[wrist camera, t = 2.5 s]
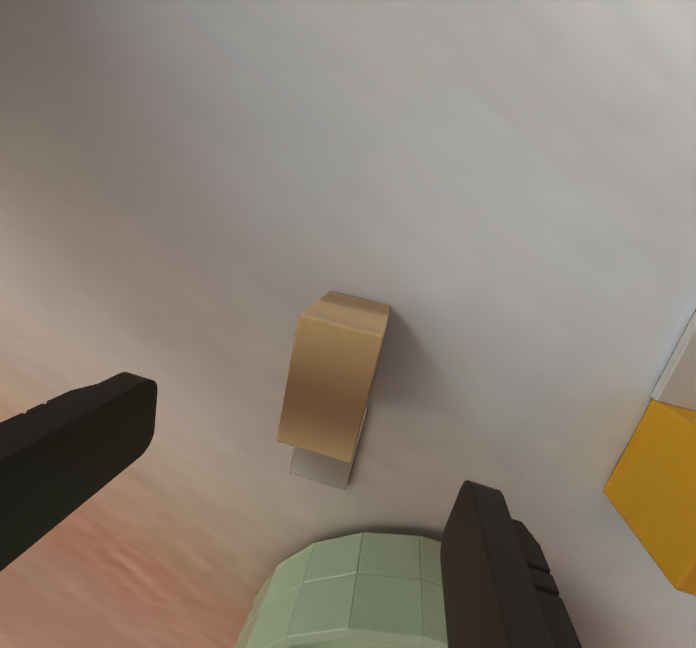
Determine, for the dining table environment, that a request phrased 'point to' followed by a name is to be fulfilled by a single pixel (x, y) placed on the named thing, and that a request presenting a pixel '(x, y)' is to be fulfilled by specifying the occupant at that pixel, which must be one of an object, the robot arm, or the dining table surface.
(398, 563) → the bowl
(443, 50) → the dining table surface
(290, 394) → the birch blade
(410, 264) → the dining table surface
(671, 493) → the yellow block with tab
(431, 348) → the dining table surface
